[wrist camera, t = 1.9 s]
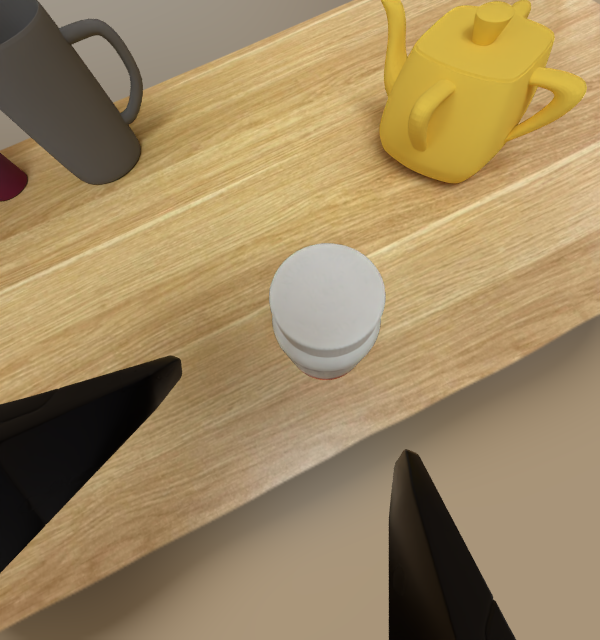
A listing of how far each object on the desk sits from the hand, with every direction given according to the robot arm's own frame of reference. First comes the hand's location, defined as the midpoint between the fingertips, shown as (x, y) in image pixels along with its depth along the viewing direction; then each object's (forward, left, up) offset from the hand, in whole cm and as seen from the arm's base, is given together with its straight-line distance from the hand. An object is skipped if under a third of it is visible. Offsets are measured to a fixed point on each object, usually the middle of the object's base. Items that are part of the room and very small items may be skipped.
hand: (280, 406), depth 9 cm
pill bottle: (+5, -1, -12) cm, 13 cm away
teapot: (+28, -11, -12) cm, 32 cm away
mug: (+29, +26, -12) cm, 40 cm away
